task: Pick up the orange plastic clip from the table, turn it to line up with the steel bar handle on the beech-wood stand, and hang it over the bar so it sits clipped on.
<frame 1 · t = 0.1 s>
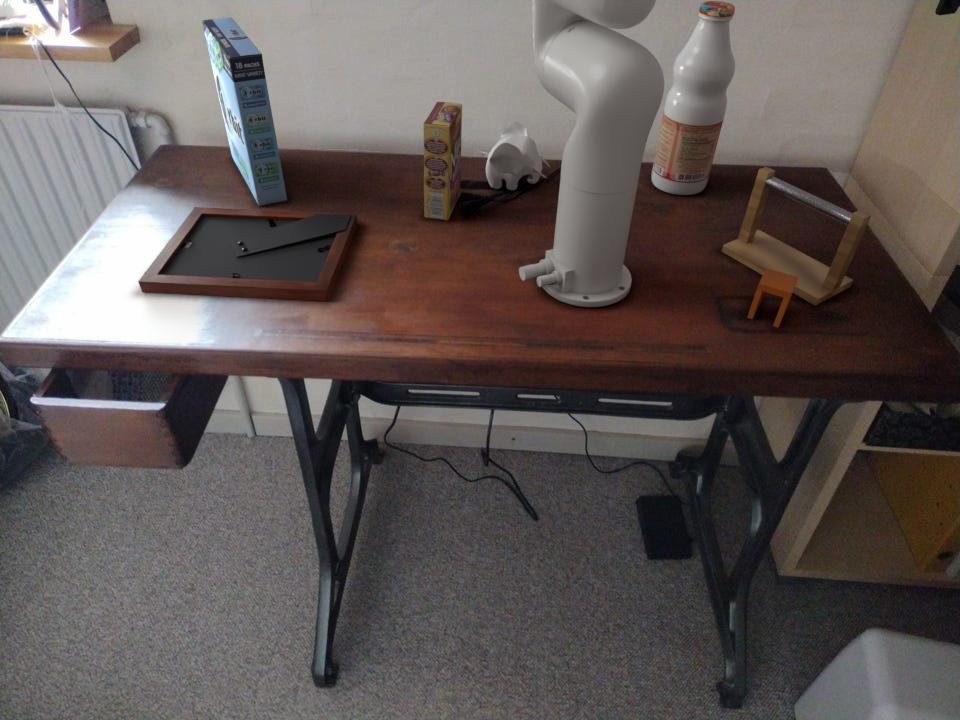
hand: (912, 3, 89), 31 cm above the table, tool pointing down, fingers open, 9 cm apart
fruit juice: (677, 184, 117), on the table
elephant figurine: (513, 184, 116), on the table
gum box: (259, 180, 116), on the table
picture frame: (258, 256, 98), on the table
candy box: (443, 207, 110), on the table
rail stand: (783, 268, 98), on the table
clip: (766, 314, 90), on the table
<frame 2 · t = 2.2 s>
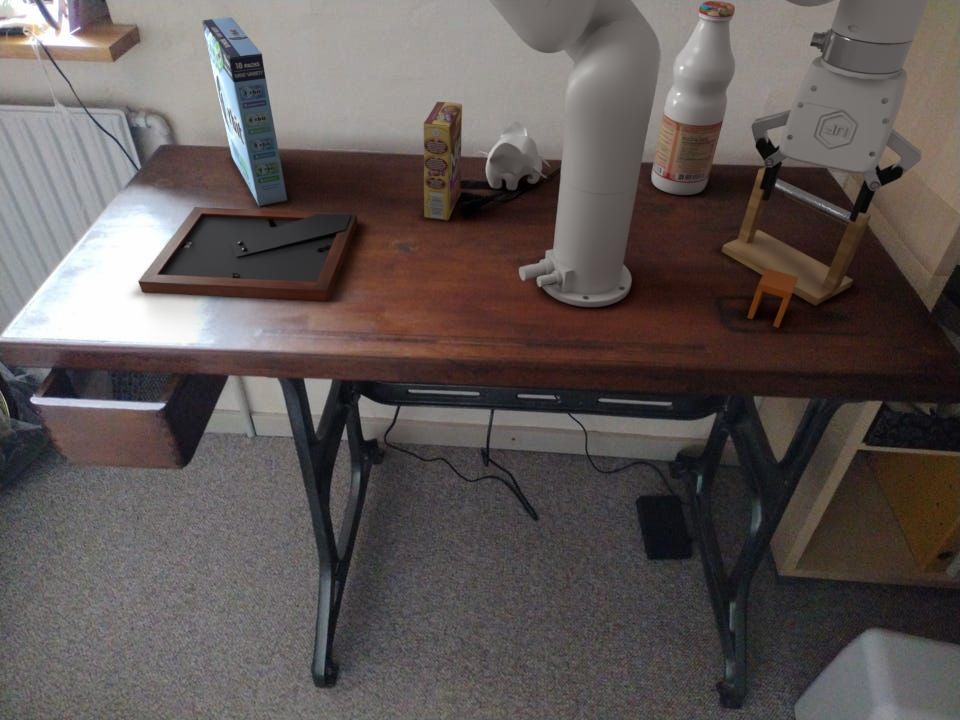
hand: (809, 206, 80), 15 cm above the table, tool pointing down, fingers open, 9 cm apart
nothing on the table moved.
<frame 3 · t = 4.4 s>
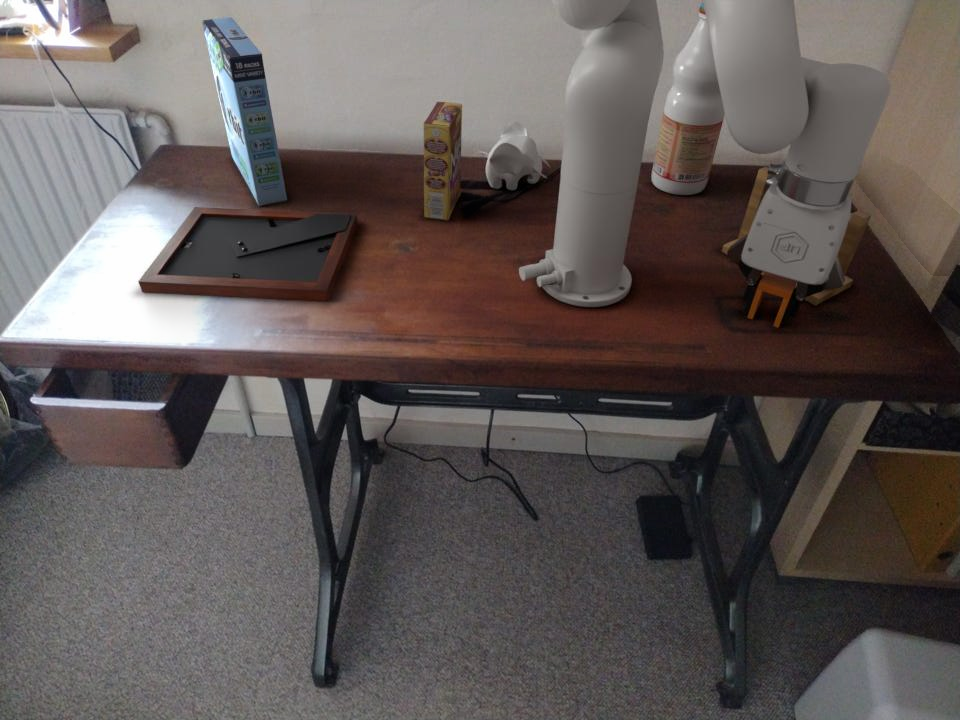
hand: (767, 311, 89), 1 cm above the table, tool pointing down, fingers closed on clip, 4 cm apart
clip: (766, 314, 90), on the table, touching gripper
everything else where it was.
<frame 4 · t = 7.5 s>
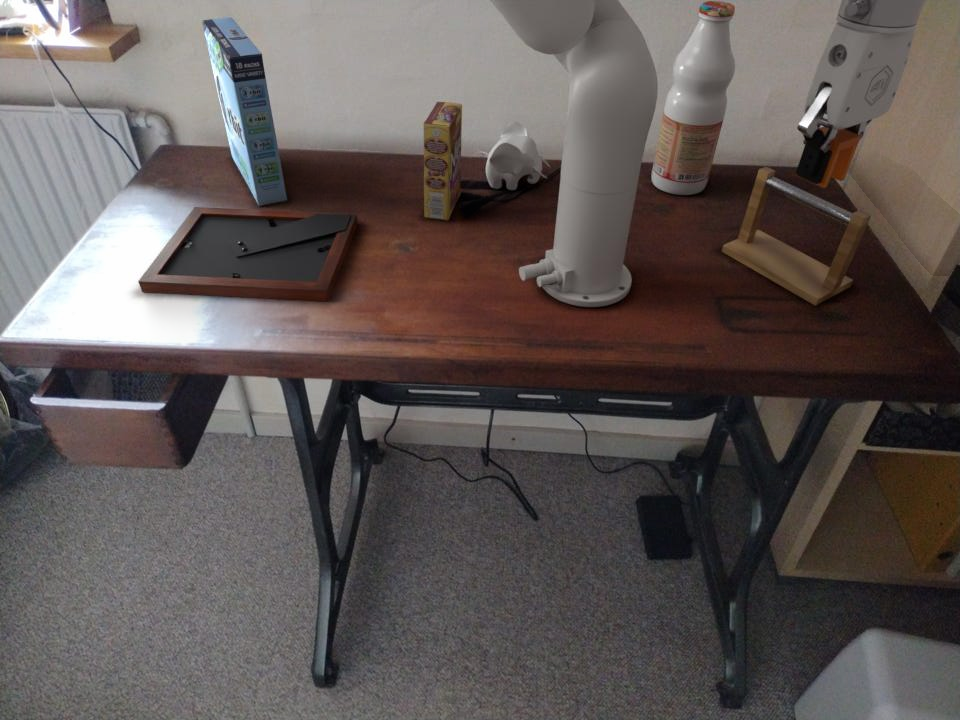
hand: (821, 172, 82), 17 cm above the table, tool pointing down, fingers closed on clip, 4 cm apart
clip: (819, 177, 82), point 17 cm above the table, touching gripper
everything else where it was.
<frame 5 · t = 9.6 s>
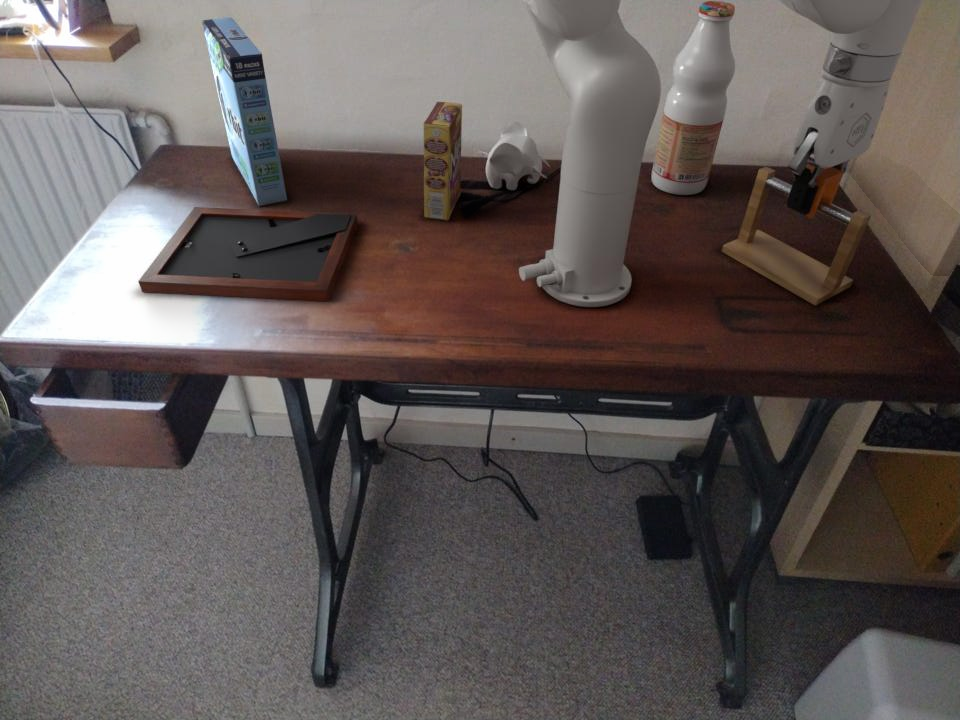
hand: (808, 204, 91), 10 cm above the table, tool pointing down, fingers closed on clip, 4 cm apart
clip: (807, 208, 92), point 10 cm above the table, touching gripper
everything else where it was.
when the fingers open (8 cm above the table, at t = 10.8 s): clip stays where it is, resting on rail stand.
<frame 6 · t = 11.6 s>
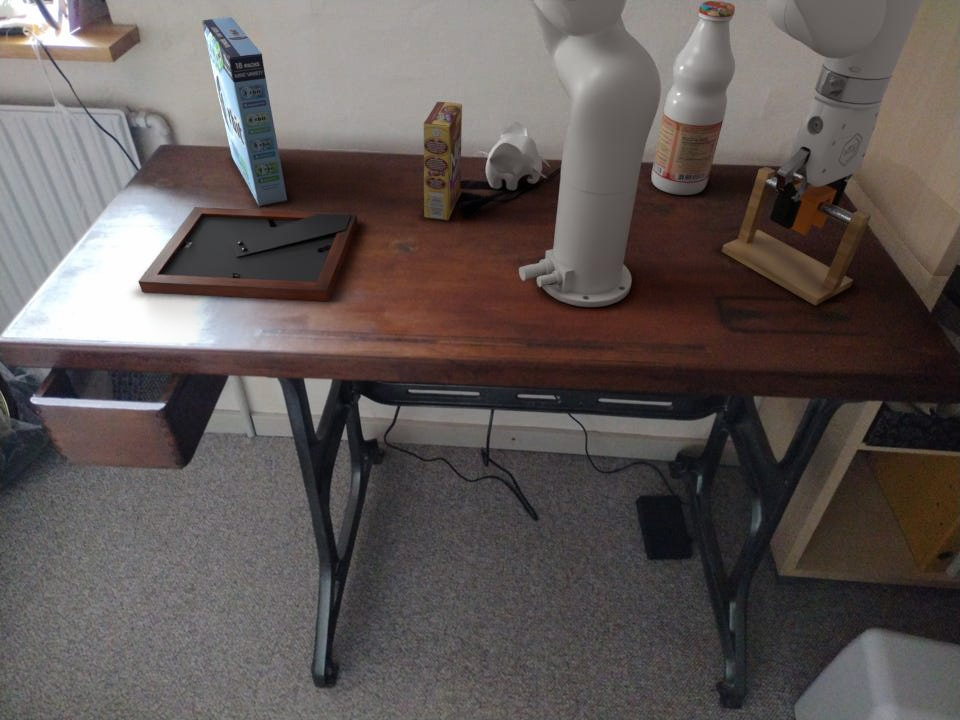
hand: (803, 214, 92), 9 cm above the table, tool pointing down, fingers open, 9 cm apart
clip: (801, 224, 93), point 7 cm above the table, touching rail stand
everything else where it was.
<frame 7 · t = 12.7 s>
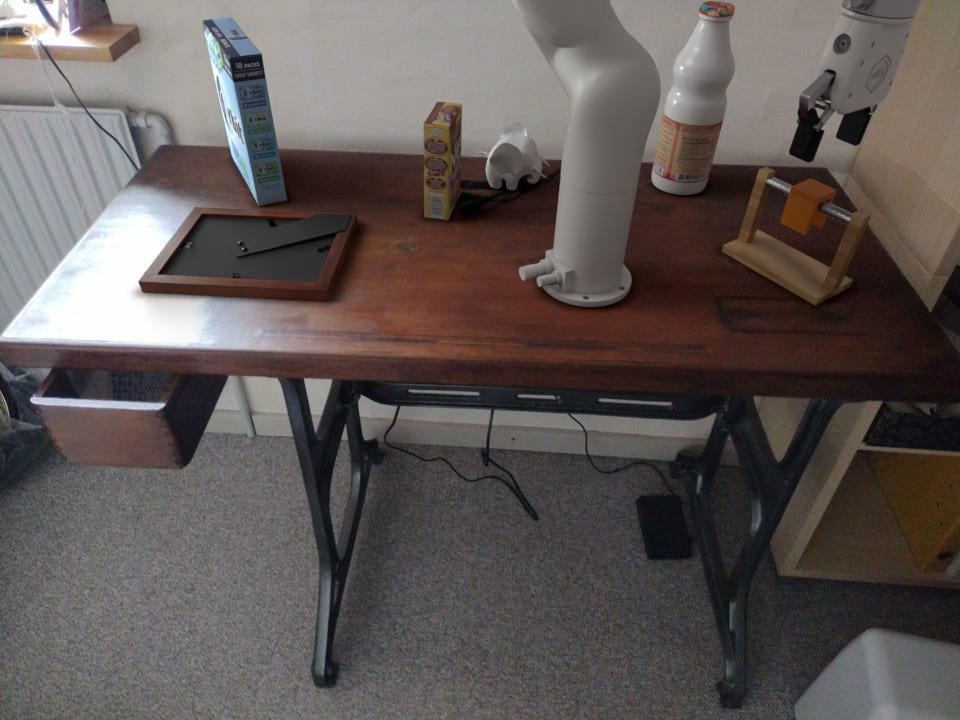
hand: (824, 149, 86), 18 cm above the table, tool pointing down, fingers open, 9 cm apart
nothing on the table moved.
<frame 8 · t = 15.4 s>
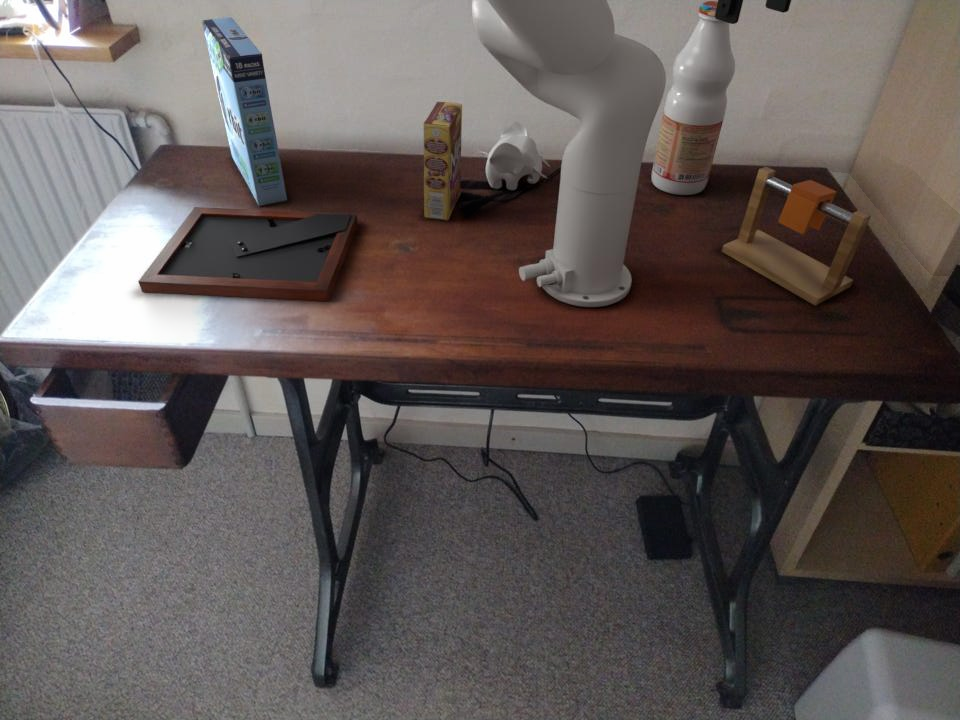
hand: (751, 15, 86), 30 cm above the table, tool pointing down, fingers open, 9 cm apart
nothing on the table moved.
at the end: clip inside the target area on the rail stand (0.3 cm from its centre), point 7.1 cm above the rail stand's base; clip touching rail stand; the gripper is holding nothing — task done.
